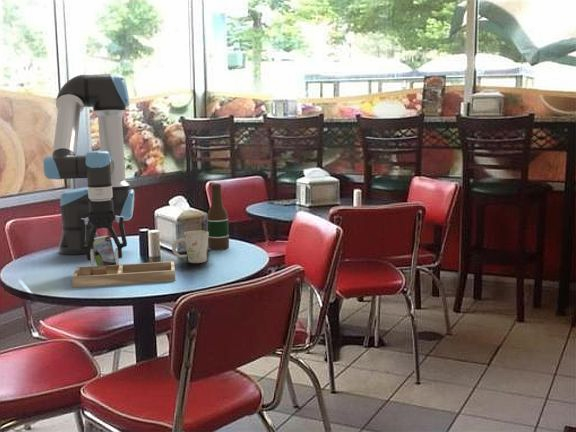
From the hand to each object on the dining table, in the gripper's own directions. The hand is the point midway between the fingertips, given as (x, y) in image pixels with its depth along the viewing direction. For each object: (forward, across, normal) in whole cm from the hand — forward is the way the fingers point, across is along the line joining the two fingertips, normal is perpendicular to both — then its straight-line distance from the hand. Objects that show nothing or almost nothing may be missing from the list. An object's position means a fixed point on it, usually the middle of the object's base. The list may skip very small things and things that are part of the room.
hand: (105, 268), depth 231 cm
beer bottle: (+2, +39, +28) cm, 48 cm away
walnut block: (0, -1, -14) cm, 14 cm away
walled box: (+1, +7, -14) cm, 15 cm away
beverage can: (+1, 0, 0) cm, 1 cm away
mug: (+1, +28, +8) cm, 29 cm away
